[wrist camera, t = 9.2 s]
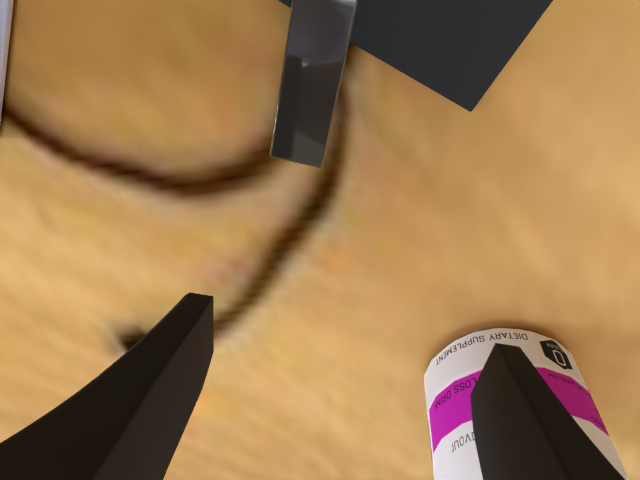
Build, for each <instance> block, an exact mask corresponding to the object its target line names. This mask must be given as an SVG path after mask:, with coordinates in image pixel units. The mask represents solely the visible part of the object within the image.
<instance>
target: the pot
mask: <svg viewBox="0 0 640 480" xmlns="http://www.w3.org/2000/svg"><path fill="white" fill-rule="evenodd" d="M358 3H359V0H292V6H291V13H290V20H289V27H288V34H287V40H286V47H285V54H284V61H283V67H282V74H281V81H280V88H279V94H278V101H277V108H276V115H275V122H274V128H273V135H272V142H271V149H270V156H271V157H274V158H278V159H283V160H287V161H291V162H296V163H300V164H305V165H309V166H313V167H318V168H321V167H322V165H323V161H324V156H325V152H326V147H327V143H328V138H329V134H330V129H331V125H332V120H333V116H334V111H335V107H336V102H337V98H338V93H339V88H340V84H341V79H342V75H343V70H344V66H345V61H346V57H347V52H348V48H349V43H350V39H351V34H352V30H353V25H354V21H355V16H356V12H357V7H358Z"/></svg>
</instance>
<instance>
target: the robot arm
mask: <svg viewBox="0 0 640 480" xmlns="http://www.w3.org/2000/svg"><path fill="white" fill-rule="evenodd" d="M13 2H14V0H0V124H1V114H2V105H3V96H4V86H5V77H6V68H7V58H8V49H9V40H10V30H11V21H12V12H13ZM212 355H213V296H207V295H201V294H195V293H188V294H187V295H185V296H184V297H183V298H182V299H181V300H180V301H179V303H178V304H177V305H176V306H175V307H174V308H173V309H172V310H171V311H170V312H169V313H168V314H167V315H166V316H165V317H164V318H163V319H162V320H161V321H160V322H159V323H158V324H157V325H156V326H155V327H154V328H152V329H151V330H150V331H149V332H148V333H147V334H146V335H145V336H144V337H143V338H142V339H141V340H140V341H138V342H137V343H136V344H135V345H134V346H133V347H132V348H131V349H130V350H129V351H127V352H126V353H125V354H124V355H123V356H122V357H120V358H119V359H118V360H117V361H116V362H114V363H113V364H112V365H111V366H110V367H108V368H107V369H106V370H105V371H104V372H102V373H101V374H100V375H99V376H98V377H96V378H95V379H94V380H92V381H91V382H90V383H89V384H87V385H86V386H85V387H83V388H82V389H81V390H79V391H78V392H77V393H75V394H74V395H73V396H71V397H70V398H68V399H67V400H66V401H64V402H63V403H61V404H60V405H59V406H57V407H56V408H54V409H53V410H51V411H50V412H48V413H47V414H45V415H44V416H42V417H41V418H39V419H38V420H36V421H35V422H33V423H32V424H30V425H29V426H27V427H26V428H24V429H22V430H21V431H19V432H18V433H16V434H14V435H13V436H11V437H10V438H8V439H6V440H5V441H3V442H1V443H0V480H163V478H164V476H165V473H166V471H167V468H168V466H169V464H170V462H171V459H172V457H173V455H174V452H175V450H176V448H177V446H178V443H179V441H180V439H181V436H182V434H183V432H184V430H185V427H186V425H187V423H188V420H189V418H190V416H191V414H192V411H193V409H194V407H195V404H196V402H197V400H198V397H199V395H200V393H201V390H202V388H203V385H204V381H205V378H206V375H207V372H208V368H209V365H210V362H211V358H212ZM470 397H471V412H472V423H473V433H474V439H475V444H476V449H477V453H478V458H479V463H480V468H481V472H482V477H483V480H625V479H624V478H623V477H622V475H621V474H620V473H619V472H618V471H617V470H616V469H615V468H614V467H613V465H612V464H611V463H610V462H609V461H608V460H607V458H606V457H605V456H604V455H603V454H602V453H601V451H600V450H599V449H598V448H597V447H596V445H595V444H594V443H593V442H592V441H591V440H590V438H589V437H588V436H587V435H586V433H585V432H584V431H583V430H582V428H581V427H580V426H579V425H578V423H577V422H576V421H575V420H574V418H573V417H572V416H571V415H570V413H569V412H568V411H567V409H566V408H565V407H564V405H563V404H562V403H561V402H560V400H559V399H558V398H557V396H556V395H555V394H554V392H553V391H552V390H551V388H550V387H549V386H548V384H547V383H546V381H545V380H544V379H543V377H542V376H541V375H540V373H539V372H538V371H537V369H536V368H535V367H534V365H533V364H532V362H531V361H530V360H529V358H528V357H527V356H526V354H525V353H524V352H523V350H522V349H521V348H520V347H519V346H513V345H506V344H500V343H495V345H494V347H493V349H492V351H491V353H490V355H489V357H488V359H487V361H486V363H485V365H484V367H483V369H482V371H481V373H480V375H479V377H478V379H477V381H476V384H475V386H474V388H473V390H472V392H471V394H470Z"/></svg>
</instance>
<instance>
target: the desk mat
mask: <svg viewBox="0 0 640 480" xmlns="http://www.w3.org/2000/svg"><path fill="white" fill-rule="evenodd" d="M279 1H281V2H282V3H284V4H286V5H287V6H289V7H291V6H292V0H279ZM552 1H553V0H359V3H358V7H357V12H356V16H355V21H354V25H353V30H352V34H351V39H350V42H351V43H353V44H355V45H356V46H358V47H360V48H362V49H363V50H365V51H367V52H368V53H370V54H372V55H374V56H375V57H377V58H379V59H380V60H382V61H384V62H386V63H387V64H389V65H391V66H393V67H394V68H396V69H398V70H399V71H401V72H403V73H405V74H406V75H408V76H410V77H411V78H413V79H415V80H417V81H418V82H420V83H422V84H424V85H425V86H427V87H429V88H430V89H432V90H434V91H436V92H437V93H439V94H441V95H443V96H444V97H446V98H448V99H449V100H451V101H453V102H455V103H456V104H458V105H460V106H461V107H463V108H465V109H467V110H468V111H470V112H471V111H472V110H473V108H474V107H475V106H476V104H477V103H478V102H479V100H480V99H481V98H482V96H483V95H484V93H485V92H486V91H487V89H488V88H489V87H490V85H491V84H492V83H493V81H494V80H495V78H496V77H497V76H498V74H499V73H500V72H501V70H502V69H503V67H504V66H505V65H506V63H507V62H508V61H509V59H510V58H511V57H512V55H513V54H514V52H515V51H516V50H517V48H518V47H519V46H520V44H521V43H522V42H523V40H524V39H525V37H526V36H527V35H528V33H529V32H530V31H531V29H532V28H533V27H534V25H535V24H536V22H537V21H538V20H539V18H540V17H541V16H542V14H543V13H544V11H545V10H546V9H547V7H548V6H549V5H550V3H551V2H552Z"/></svg>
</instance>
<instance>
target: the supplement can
mask: <svg viewBox="0 0 640 480" xmlns="http://www.w3.org/2000/svg"><path fill="white" fill-rule="evenodd" d="M495 343H500V344H506V345H513V346H519V347H520V348H521V349H522V350H523V352H524V353H525V354H526V356H527V357H528V358H529V360H530V361H531V362H532V364H533V365H534V367H535V368H536V369H537V371H538V372H539V373H540V375H541V376H542V377H543V379H544V380H545V381H546V383H547V384H548V386H549V387H550V388H551V390H552V391H553V392H554V394H555V395H556V396H557V398H558V399H559V400H560V402H561V403H562V404H563V405H564V407H565V408H566V409H567V411H568V412H569V413H570V415H571V416H572V417H573V418H574V420H575V421H576V422H577V423H578V425H579V426H580V427H581V428H582V430H583V431H584V432H585V433H586V435H587V436H588V437H589V438H590V440H591V441H592V442H593V443H594V444H595V445H596V447H597V448H598V449H599V450H600V451H601V453H602V454H603V455H604V456H605V457H606V458H607V460H608V461H609V462H610V463H611V464H612V465H613V467H614V468H615V469H616V470H617V471H618V472H619V473H620V474H621V475H622V477H623V478H624V479H625V480H629V479H628V476H627V474H626V472H625V470H624V468H623V465H622V463H621V461H620V459H619V457H618V454H617V452H616V450H615V448H614V446H613V443H612V441H611V439H610V437H609V435H608V432H607V430H606V428H605V426H604V424H603V421H602V419H601V417H600V415H599V413H598V410H597V408H596V406H595V404H594V402H593V399H592V397H591V395H590V393H589V391H588V388H587V386H586V384H585V382H584V380H583V377H582V375H581V373H580V371H579V369H578V366H577V364H576V362H575V360H574V358H573V355H572V354H571V353H570V352H569V351H568V350H567V349H565V348H564V347H563V346H562V345H561V344H559V343H558V342H557V341H556V340H554V339H551V338H548V337H546V336H543V335H540V334H537V333H534V332H531V331H525V330H522V329H509V328H494V329H488V330H482V331H476V332H473V333H471V334H468V335H466V336H464V337H462V338H460V339H457V340H455V341H454V342H452V343H451V344H449V345H448V346H447V347H446V348H444V349H443V350H442V351H441V352H440V353H439V354H438V355H437V356H435V357H434V358H433V359H432V360H431V362H430V364H429V367H428V369H427V371H426V373H425V375H424V385H425V397H426V407H427V416H428V426H429V435H430V445H431V455H432V464H433V474H434V480H483V477H482V472H481V468H480V463H479V458H478V453H477V449H476V444H475V439H474V433H473V423H472V412H471V397H470V394H471V392H472V390H473V388H474V386H475V384H476V381H477V379H478V377H479V375H480V373H481V371H482V369H483V367H484V365H485V363H486V361H487V359H488V357H489V355H490V353H491V351H492V349H493V347H494V345H495Z"/></svg>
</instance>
